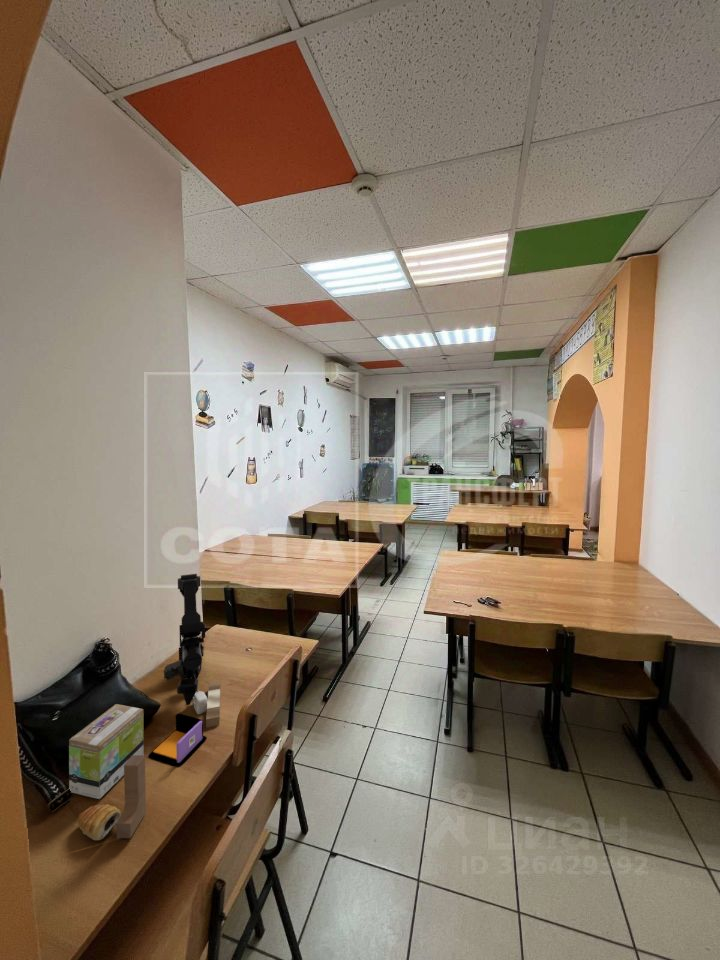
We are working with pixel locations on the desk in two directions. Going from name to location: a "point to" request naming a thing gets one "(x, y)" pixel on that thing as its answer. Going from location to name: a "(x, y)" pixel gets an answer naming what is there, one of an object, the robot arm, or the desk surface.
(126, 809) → the wooden block
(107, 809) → the pastry
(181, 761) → the business card holder
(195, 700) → the power adapter
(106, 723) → the tea box
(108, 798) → the desk surface
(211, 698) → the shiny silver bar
